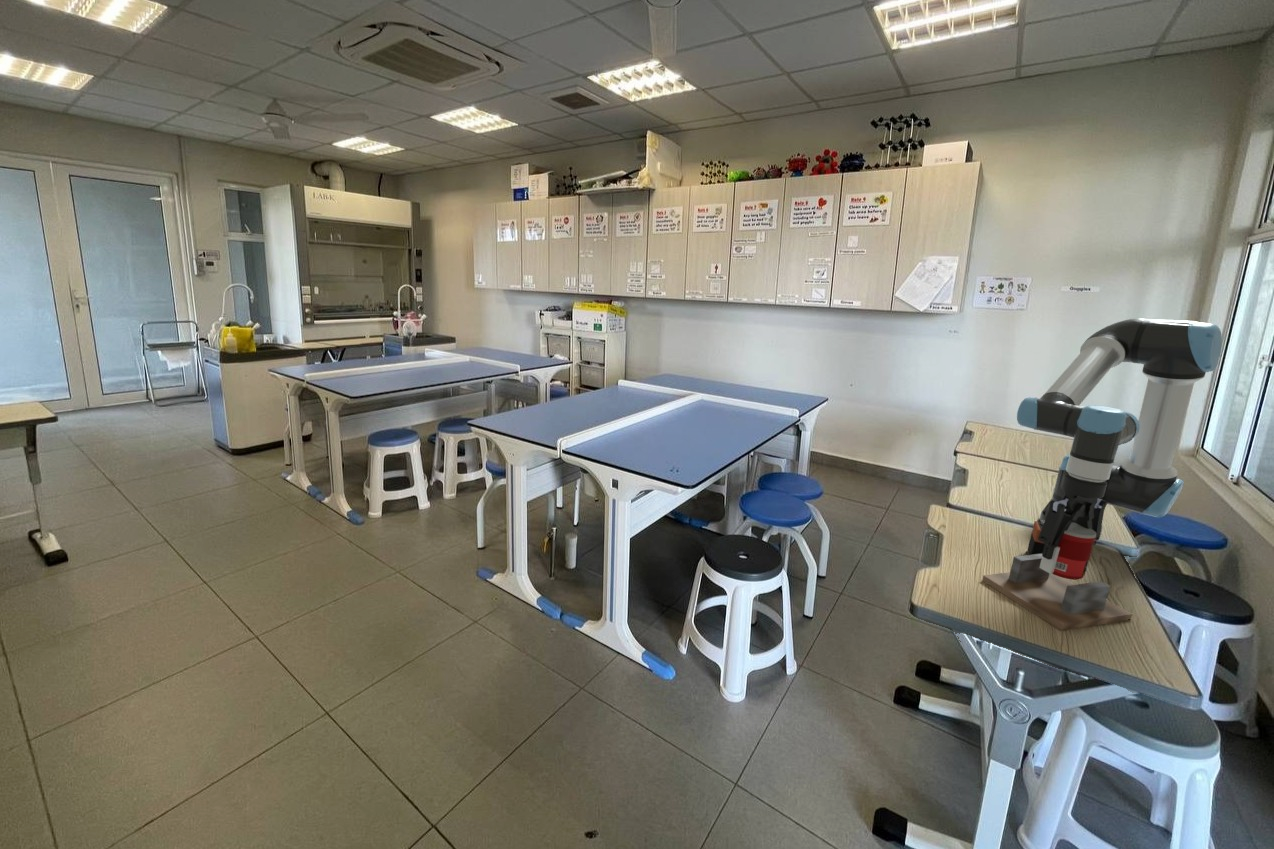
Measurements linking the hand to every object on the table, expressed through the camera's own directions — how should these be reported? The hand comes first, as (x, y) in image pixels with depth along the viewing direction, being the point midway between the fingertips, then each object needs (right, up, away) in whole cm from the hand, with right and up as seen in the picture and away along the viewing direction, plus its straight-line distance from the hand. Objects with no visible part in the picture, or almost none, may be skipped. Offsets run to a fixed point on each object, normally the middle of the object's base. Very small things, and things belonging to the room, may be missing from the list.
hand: (1060, 568), depth 125 cm
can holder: (0, -8, +2) cm, 8 cm away
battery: (+11, -3, +22) cm, 25 cm away
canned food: (0, -1, 0) cm, 1 cm away
